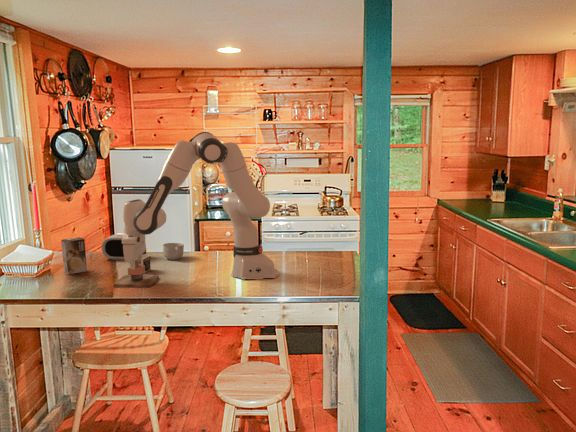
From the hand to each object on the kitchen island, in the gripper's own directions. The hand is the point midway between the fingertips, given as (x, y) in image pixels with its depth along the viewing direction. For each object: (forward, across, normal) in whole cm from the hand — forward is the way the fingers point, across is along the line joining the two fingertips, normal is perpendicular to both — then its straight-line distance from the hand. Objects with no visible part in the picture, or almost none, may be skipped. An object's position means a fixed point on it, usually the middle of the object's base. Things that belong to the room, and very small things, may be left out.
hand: (136, 266), depth 224 cm
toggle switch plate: (+7, 0, 0) cm, 7 cm away
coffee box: (+8, -17, -35) cm, 40 cm away
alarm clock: (+8, -43, -20) cm, 48 cm away
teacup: (+8, -42, +7) cm, 43 cm away
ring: (+3, 0, 0) cm, 3 cm away
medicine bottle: (+8, -19, -4) cm, 21 cm away
